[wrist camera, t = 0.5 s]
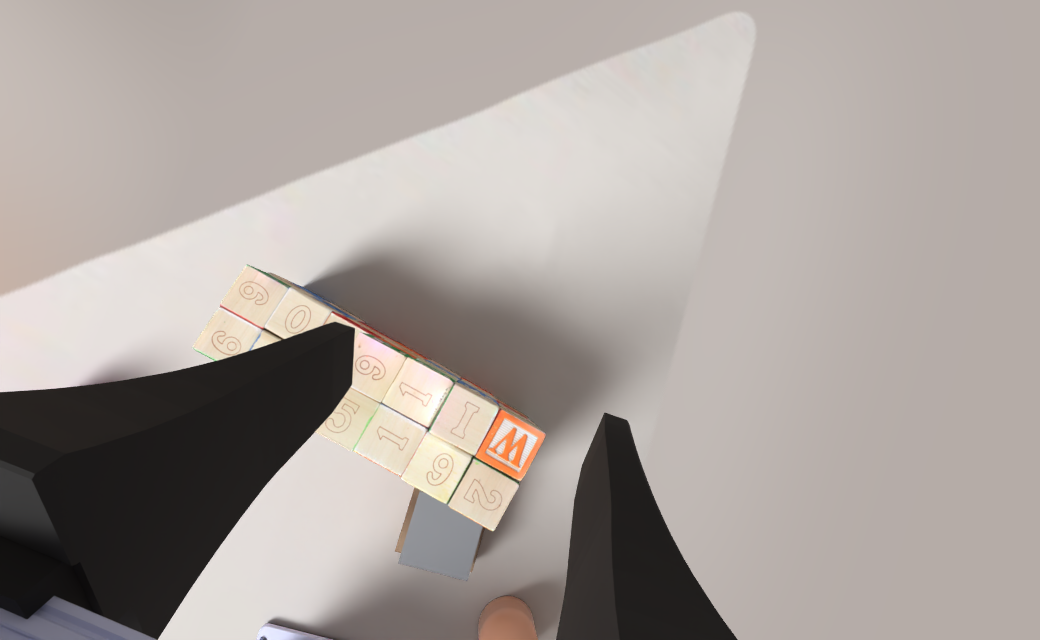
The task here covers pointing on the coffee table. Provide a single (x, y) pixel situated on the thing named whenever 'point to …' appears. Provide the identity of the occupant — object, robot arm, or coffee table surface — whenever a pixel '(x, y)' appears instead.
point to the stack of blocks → (391, 400)
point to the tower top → (440, 539)
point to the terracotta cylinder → (506, 620)
